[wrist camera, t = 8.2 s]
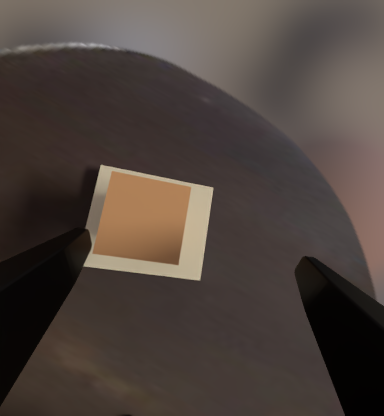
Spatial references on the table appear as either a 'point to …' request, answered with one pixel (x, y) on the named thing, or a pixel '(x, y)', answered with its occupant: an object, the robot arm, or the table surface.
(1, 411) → the table surface
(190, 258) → the socket
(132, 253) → the plug
